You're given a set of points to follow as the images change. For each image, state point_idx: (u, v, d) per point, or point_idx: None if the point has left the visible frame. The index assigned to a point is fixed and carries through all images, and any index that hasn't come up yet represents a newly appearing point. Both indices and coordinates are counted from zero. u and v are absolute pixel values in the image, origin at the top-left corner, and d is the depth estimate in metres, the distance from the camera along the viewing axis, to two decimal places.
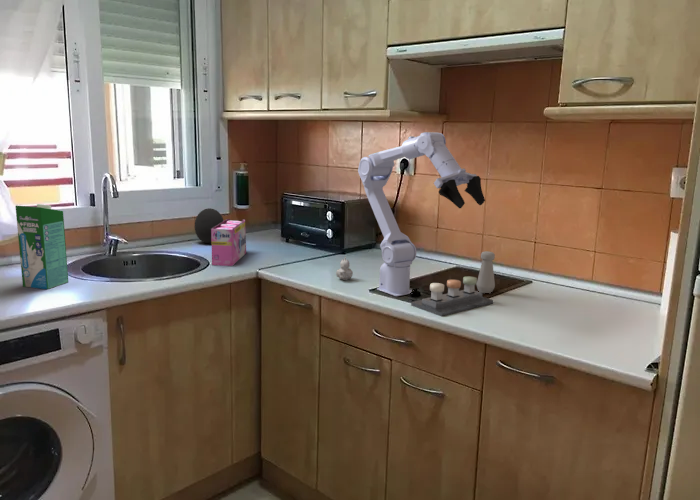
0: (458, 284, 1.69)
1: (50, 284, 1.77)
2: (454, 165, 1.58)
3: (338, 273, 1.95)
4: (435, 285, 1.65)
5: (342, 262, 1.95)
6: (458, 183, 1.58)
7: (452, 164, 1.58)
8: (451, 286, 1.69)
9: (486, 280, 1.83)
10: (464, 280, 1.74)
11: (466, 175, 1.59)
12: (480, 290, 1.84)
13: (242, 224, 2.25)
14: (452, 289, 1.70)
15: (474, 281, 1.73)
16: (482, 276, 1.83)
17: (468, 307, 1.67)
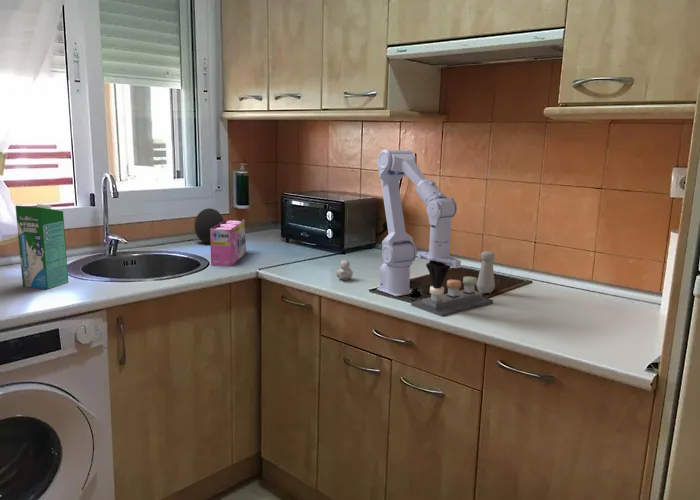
0: (458, 284, 1.69)
1: (50, 284, 1.77)
2: (430, 249, 1.63)
3: (338, 273, 1.95)
4: (435, 288, 1.65)
5: (342, 262, 1.95)
6: None
7: (430, 246, 1.63)
8: (451, 286, 1.69)
9: (486, 280, 1.83)
10: (464, 280, 1.74)
11: None
12: (480, 290, 1.84)
13: (241, 224, 2.25)
14: (452, 289, 1.70)
15: (474, 281, 1.73)
16: (482, 276, 1.83)
17: (468, 307, 1.67)
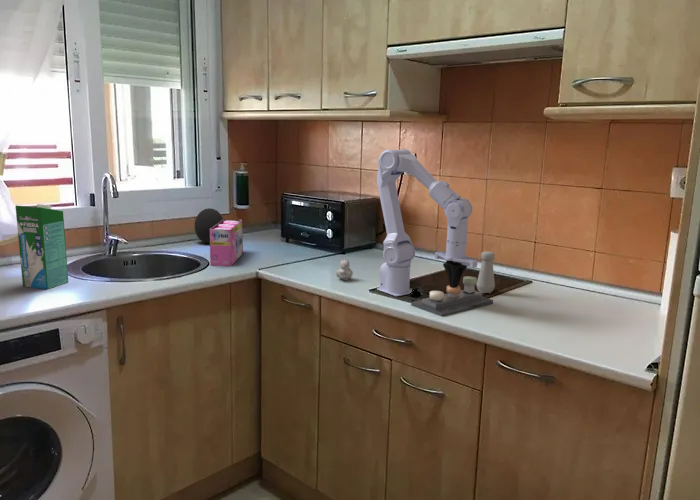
0: (458, 290, 1.69)
1: (50, 284, 1.77)
2: (447, 249, 1.67)
3: (338, 273, 1.95)
4: (435, 293, 1.66)
5: (342, 262, 1.95)
6: None
7: (447, 247, 1.67)
8: (451, 292, 1.69)
9: (486, 280, 1.83)
10: (464, 280, 1.74)
11: None
12: (480, 290, 1.84)
13: (239, 224, 2.25)
14: (452, 295, 1.70)
15: (474, 281, 1.73)
16: (482, 276, 1.83)
17: (468, 307, 1.67)
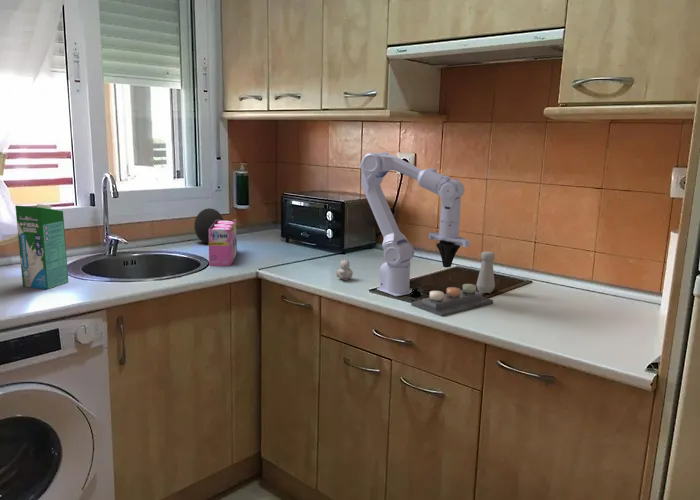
0: (457, 292, 1.69)
1: (50, 284, 1.77)
2: (441, 229, 1.70)
3: (338, 273, 1.95)
4: (435, 293, 1.66)
5: (342, 262, 1.95)
6: None
7: (440, 227, 1.70)
8: (451, 294, 1.69)
9: (486, 280, 1.83)
10: (463, 288, 1.74)
11: (450, 241, 1.69)
12: (480, 290, 1.84)
13: (234, 224, 2.25)
14: (452, 297, 1.70)
15: (473, 289, 1.74)
16: (482, 276, 1.83)
17: (468, 307, 1.67)
